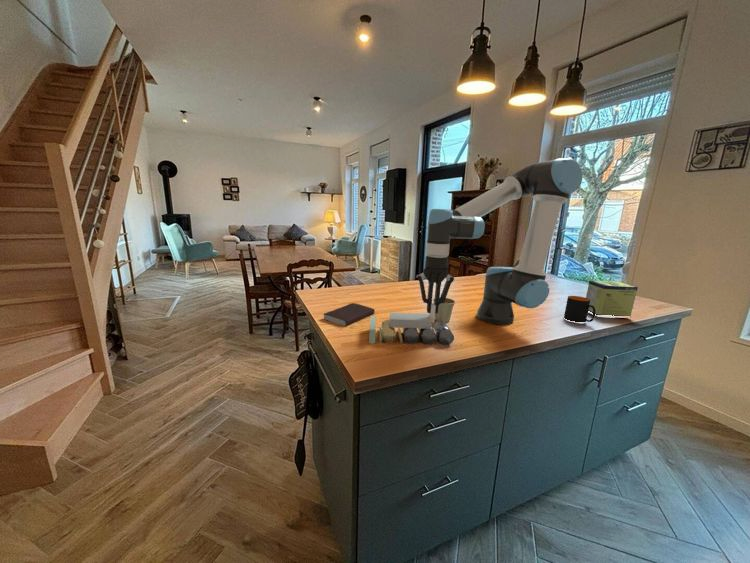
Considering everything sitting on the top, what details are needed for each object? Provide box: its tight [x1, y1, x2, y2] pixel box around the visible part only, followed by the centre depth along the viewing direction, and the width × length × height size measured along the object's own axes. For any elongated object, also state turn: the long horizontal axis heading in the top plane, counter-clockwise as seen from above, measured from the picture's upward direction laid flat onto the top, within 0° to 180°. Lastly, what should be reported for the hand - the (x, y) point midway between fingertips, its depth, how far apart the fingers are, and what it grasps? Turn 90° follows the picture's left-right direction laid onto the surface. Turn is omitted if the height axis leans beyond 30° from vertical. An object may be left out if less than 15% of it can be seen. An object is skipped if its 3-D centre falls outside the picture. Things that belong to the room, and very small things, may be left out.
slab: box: [388, 312, 432, 329], centre depth 107 cm, size 14×7×3 cm, turn 90°
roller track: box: [378, 321, 455, 346], centre depth 108 cm, size 25×11×5 cm, turn 90°
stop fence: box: [368, 316, 377, 344], centre depth 108 cm, size 2×12×5 cm, turn 0°
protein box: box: [585, 280, 639, 317], centre depth 143 cm, size 10×16×16 cm
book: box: [323, 302, 375, 327], centre depth 127 cm, size 12×19×3 cm, turn 145°
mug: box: [563, 295, 596, 323], centre depth 131 cm, size 8×12×10 cm
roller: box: [380, 319, 397, 344], centre depth 108 cm, size 10×5×5 cm, turn 0°
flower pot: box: [432, 297, 456, 323], centre depth 127 cm, size 9×9×9 cm
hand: (431, 321), depth 107 cm, fingers closed
